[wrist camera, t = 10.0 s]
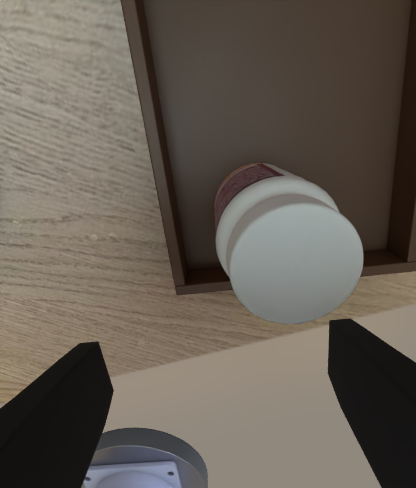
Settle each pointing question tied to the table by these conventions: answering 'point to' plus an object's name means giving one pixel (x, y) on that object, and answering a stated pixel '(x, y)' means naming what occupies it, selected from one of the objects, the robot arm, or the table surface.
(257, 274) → the pill bottle
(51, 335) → the table surface
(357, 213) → the tray
